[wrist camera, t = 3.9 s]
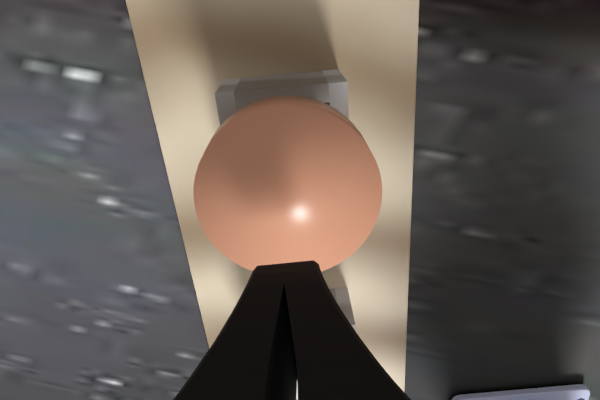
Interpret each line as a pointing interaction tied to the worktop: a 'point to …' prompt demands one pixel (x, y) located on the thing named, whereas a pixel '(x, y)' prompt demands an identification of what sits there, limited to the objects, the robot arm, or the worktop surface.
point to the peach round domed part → (287, 185)
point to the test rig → (291, 82)
